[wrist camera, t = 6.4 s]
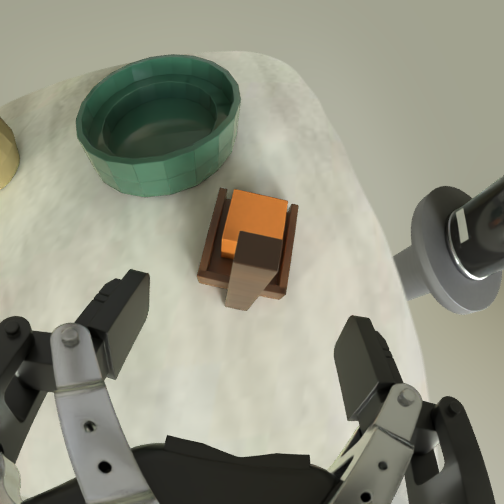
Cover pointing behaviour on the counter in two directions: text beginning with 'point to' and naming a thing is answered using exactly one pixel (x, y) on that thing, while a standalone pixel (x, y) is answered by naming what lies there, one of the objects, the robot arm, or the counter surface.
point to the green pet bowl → (160, 124)
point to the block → (252, 219)
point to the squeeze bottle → (7, 154)
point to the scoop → (247, 260)
